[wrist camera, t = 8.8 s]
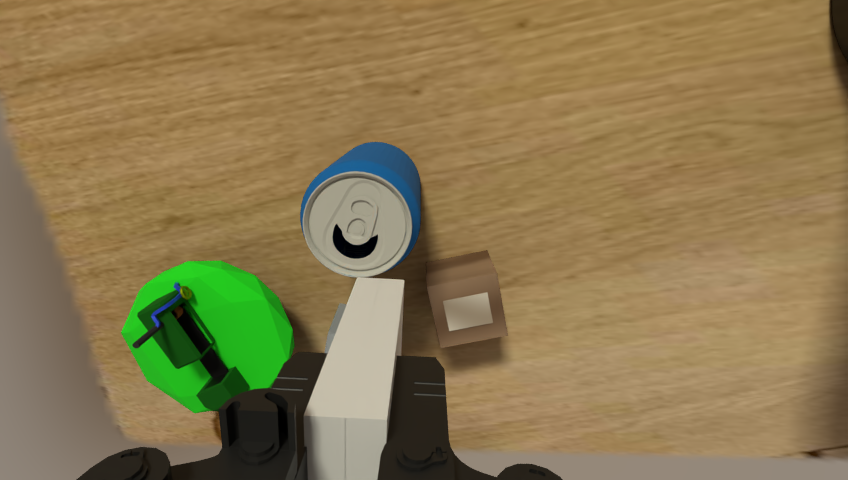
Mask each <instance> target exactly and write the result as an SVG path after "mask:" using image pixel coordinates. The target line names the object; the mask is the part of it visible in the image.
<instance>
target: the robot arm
mask: <svg viewBox="0 0 848 480" xmlns="http://www.w3.org/2000/svg"><path fill="white" fill-rule="evenodd" d="M832 14H833V23H834V29H835V33H836V37H837V40H838V43H839V46H840V48H841V50H842V52H843V54H844V56H845V57H846V59H847V60H848V0H832ZM403 302H404V280H399V279H380V278H361V277H357V279H356V282H355V285H354V287H353V290H352V292H351V295H350V297H349V300H348V303H347V305H346V308H345V310H344V313H343V315H342V318H341V321H340V323H339V326H338V328H337V331H336V333H335V336H334V339H333V341H332V344H331V346H330V349H329V351H328V353H310V352H298V353H296V354H295V355H294V356H292V357H291V358H290V359H288V360H287V361H286V362H285V363H284V364H283V366H282V368H281V370H280V371H279V373H278V375H277V379H275V381H274V383H273V384H272V386H271V388H260V389H252V390H249V391H246V392H242V393H239V394H238V395H236V396H234V397H232V398H230V399H229V400H227V401H226V402H225V403H224V404H223V405H222V406H221V407H220V408H219V418H220V428H221V438H222V449H221V451H220V453H219V454H218V455H216V456H215V457H212V458H208V459H204V460H201V461H196V462H190V463H186V464H181V465H175V466H170V461H169V459H168V457H167V455H166V453H164V452H162V451H160V450H158V449H157V448H147V447H139V448H134V449H128V450H124V451H122V452H119V453H117V454H114V455H112V456H109V457H107V458H105V459H104V460H102V461H101V462H99V463H98V464H96V465H95V466H93V467H92V468H90V469H89V470H88V471H87V472H85V473H84V474H83V475H82V476H80V477H79V478H78V479H77V480H562V479H561V478H560V477H559V476H558V475H556V474H554V473H553V472H551V471H550V470H548V469H546V468H543V467H540V466H537V465H533V464H516V465H513V466H510V467H507V468H505V469H504V470H503V471H502V472H501V473H500V474H499V475H498V476H497V477H494V476H491V475H488V474H484V473H481V472H479V471H476V470H474V469H472V468H470V467H468V466H467V465H465V464H464V463H463V462H461V461H460V460H459V459H458V458H457V457H456V456H455V454H454V452H453V451H452V449H451V447H450V443H449V436H448V420H447V404H446V388H445V372H444V368H443V367H442V366H441V364H440V363H439V361H438V360H437V359H436V357H417V356H401V348H402V325H403Z"/></svg>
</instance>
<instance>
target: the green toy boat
mask: <svg viewBox="0 0 848 480" xmlns="http://www.w3.org/2000/svg"><path fill="white" fill-rule="evenodd" d="M121 333H122V335H123V337H124V339H125V341H126V343H127V344H128V346H129V348H130V350H131V352H132V354H133V355H134V357H135V359H136V361H137V363H138V365H139V366H140V368H141V370H142V372H143V374H144V376H145V377H146V379H147V381H148V382H150V383H151V384H153V385H154V386H156V387H157V388H159V389H160V390H162V391H163V392H164V393H166V394H167V395H169V396H170V397H172V398H173V399H175V400H176V401H178V402H179V403H181V404H182V405H183V406H185V407H186V408H188V409H189V410H191V411H192V412H194V413H199V412H206V411H219V408H220V407H221V406H222V405H223V404H224V403H225V402H226V401H227V400H229V399H230V398H232V397H234V396H236V395H238V394H239V393H242V392H246V391H249V390H252V389H260V388H271V386H272V384H273V383H274V381H275V379H277V375H278V373H279V371H280V370H281V368H282V366H283V364H284V363H285V362H286V361H287V360H288V359H290V358H291V356H292V353H293V350H294V346H295V345H294V337H293V329H292V327H291V324H290V322H289V320H288V318H287V315H286V313H285V311H284V309H283V307H282V304H281V302H280V300H279V298H278V297H277V296H276V295H275V294H274V293H273V292H272V291H271V290H270V289H269V288H268V287H267V286H266V285H265V284H264V283H263V282H262V281H260V280H259V279H258V278H257V277H256V276H255V275H253V274H251V273H248V272H246V271H244V270H241V269H239V268H237V267H234V266H232V265H230V264H227V263H225V262H223V261H187V262H185V263H183V264H180V265H178V266H176V267H173V268H171V269H169V270H166V271H164V272H162V273H161V274H160V275H158V276H157V277H155V278H154V279H152V280H151V281H149V282H148V283H146V284H145V285H144V286H143V287H142V289H141V290H140V291H139V293H138V295H137V297H136V300H135V302H134V304H133V306H132V309H131V311H130V313H129V316H128V318H127V320H126V323H125V325H124V327H123V329H122V332H121Z"/></svg>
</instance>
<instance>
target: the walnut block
mask: <svg viewBox="0 0 848 480" xmlns="http://www.w3.org/2000/svg"><path fill="white" fill-rule="evenodd" d="M426 280H427V290H428V295H429V299H430V304H431V308H432V312H433V317H434V321H435V325H436V330H437V334H438V339H439V343H440V347H441V348H445V347H450V346H455V345H460V344H466V343H471V342H476V341H481V340H487V339H492V338H497V337H502V336H508V333H507V328H506V322H505V316H504V311H503V305H502V299H501V293H500V288H499V282H498V276H497V272H496V270H495V267H494V265H493V263H492V261H491V258H490V256H489V254H488V251H487V250H486V251H481V252H476V253H471V254H466V255H461V256H456V257H451V258H446V259H441V260H436V261H431V262H426Z"/></svg>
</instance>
